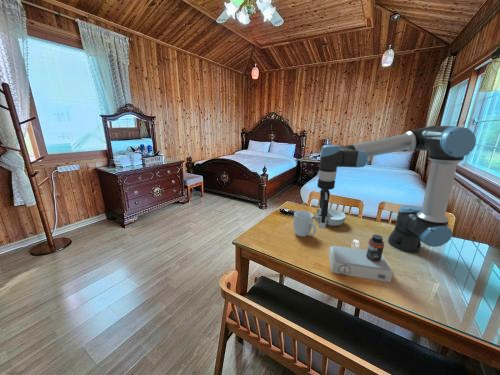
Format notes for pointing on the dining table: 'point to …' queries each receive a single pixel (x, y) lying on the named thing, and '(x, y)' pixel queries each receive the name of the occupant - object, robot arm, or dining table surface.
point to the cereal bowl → (336, 217)
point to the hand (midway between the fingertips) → (321, 223)
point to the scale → (358, 264)
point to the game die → (319, 217)
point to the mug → (303, 223)
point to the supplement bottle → (375, 248)
